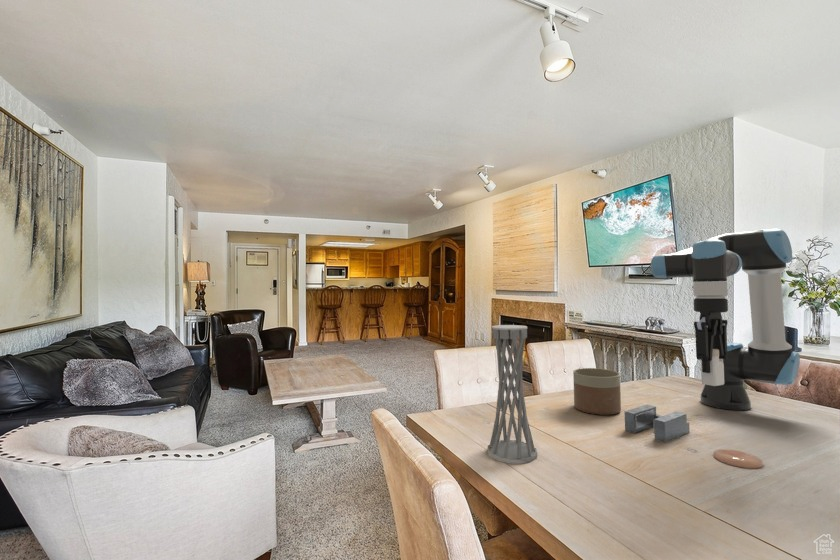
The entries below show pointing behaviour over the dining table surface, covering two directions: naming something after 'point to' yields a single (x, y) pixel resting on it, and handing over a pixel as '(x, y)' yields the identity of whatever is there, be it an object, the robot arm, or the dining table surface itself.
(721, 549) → the dining table surface
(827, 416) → the dining table surface
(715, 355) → the pepper shaker
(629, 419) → the vise
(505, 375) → the grey tall lattice tower
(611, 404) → the planter
